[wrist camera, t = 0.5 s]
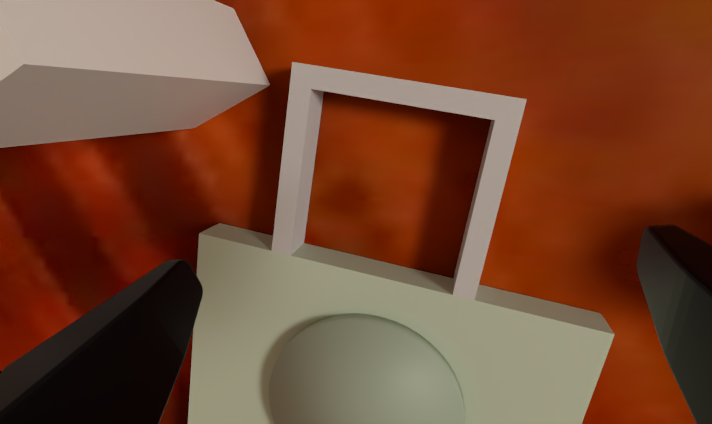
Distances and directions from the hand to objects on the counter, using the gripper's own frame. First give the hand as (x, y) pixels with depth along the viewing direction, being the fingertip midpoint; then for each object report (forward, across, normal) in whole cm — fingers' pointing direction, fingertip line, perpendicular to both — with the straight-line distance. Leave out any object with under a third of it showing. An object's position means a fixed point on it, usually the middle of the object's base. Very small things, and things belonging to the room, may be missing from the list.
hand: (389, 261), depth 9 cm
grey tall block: (+14, +10, -1) cm, 18 cm away
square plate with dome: (+9, +3, +11) cm, 15 cm away
